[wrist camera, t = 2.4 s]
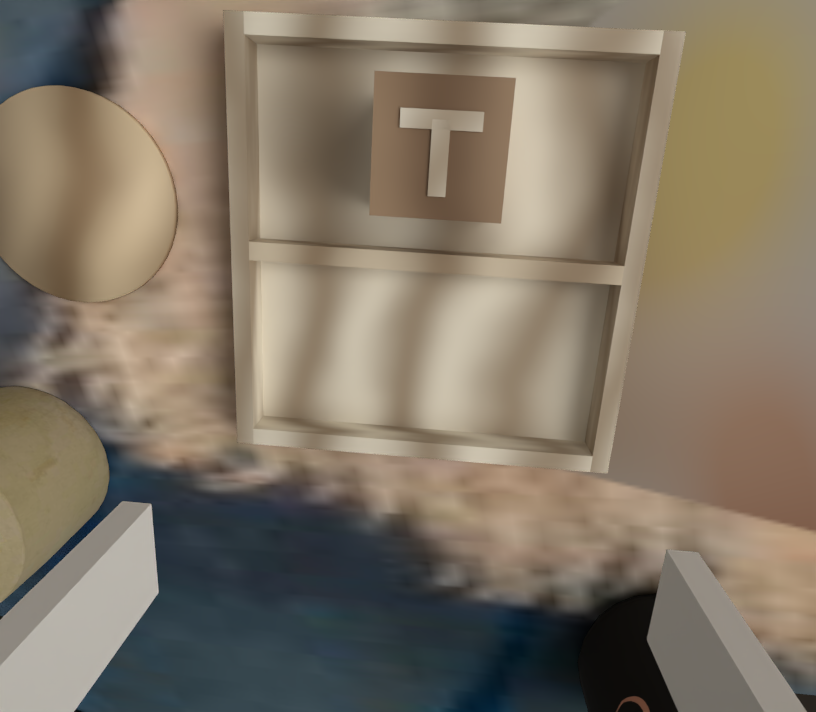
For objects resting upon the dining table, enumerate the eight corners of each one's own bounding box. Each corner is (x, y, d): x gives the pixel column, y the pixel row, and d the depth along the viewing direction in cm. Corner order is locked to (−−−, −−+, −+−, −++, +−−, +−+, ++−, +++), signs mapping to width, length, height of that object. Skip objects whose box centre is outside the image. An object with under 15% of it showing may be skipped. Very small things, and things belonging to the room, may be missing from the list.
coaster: (-6, 293, 35) (-13, 295, 35) (-39, 81, 32) (-47, 79, 31) (183, 307, 35) (179, 309, 34) (171, 92, 31) (166, 91, 31)
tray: (250, 426, 37) (237, 442, 34) (241, 24, 30) (223, 10, 28) (596, 454, 36) (607, 473, 33) (666, 44, 29) (685, 31, 27)
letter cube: (383, 210, 32) (368, 215, 26) (388, 92, 30) (374, 70, 24) (491, 216, 31) (501, 223, 26) (502, 98, 30) (516, 77, 24)
